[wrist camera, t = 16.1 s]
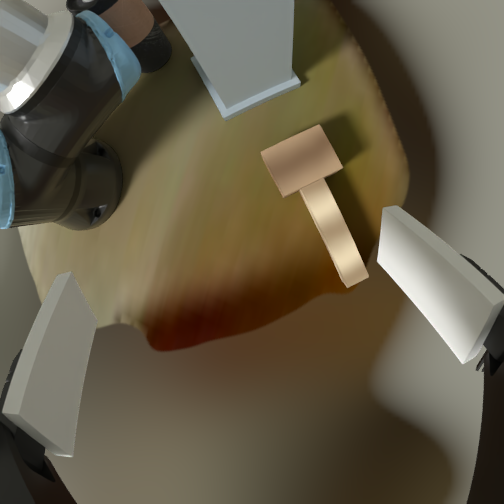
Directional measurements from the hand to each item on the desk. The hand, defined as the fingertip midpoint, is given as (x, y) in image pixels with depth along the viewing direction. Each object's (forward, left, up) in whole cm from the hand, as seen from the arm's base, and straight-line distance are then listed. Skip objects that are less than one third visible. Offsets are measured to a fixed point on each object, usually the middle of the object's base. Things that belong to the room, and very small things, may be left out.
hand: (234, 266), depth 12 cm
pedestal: (-5, +23, -30) cm, 38 cm away
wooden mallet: (+7, +3, -30) cm, 31 cm away
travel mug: (-20, +27, -30) cm, 46 cm away
